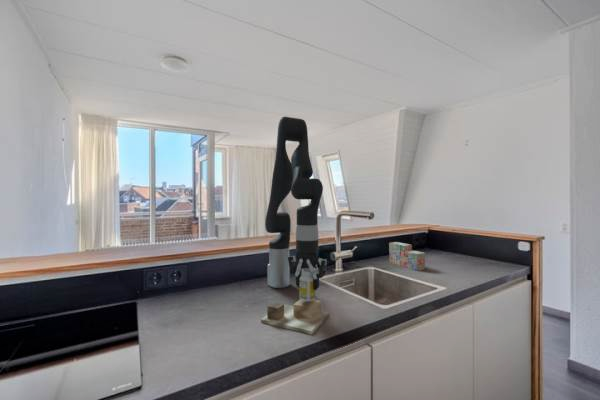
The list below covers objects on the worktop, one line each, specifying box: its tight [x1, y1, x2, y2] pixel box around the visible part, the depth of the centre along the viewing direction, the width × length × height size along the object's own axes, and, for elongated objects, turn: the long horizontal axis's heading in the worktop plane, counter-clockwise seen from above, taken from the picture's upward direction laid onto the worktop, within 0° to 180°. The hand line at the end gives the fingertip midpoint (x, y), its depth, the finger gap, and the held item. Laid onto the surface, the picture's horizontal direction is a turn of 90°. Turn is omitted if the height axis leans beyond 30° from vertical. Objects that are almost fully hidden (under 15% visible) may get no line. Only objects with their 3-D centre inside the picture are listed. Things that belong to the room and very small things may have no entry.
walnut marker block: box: [266, 301, 285, 321], centre depth 92 cm, size 4×4×4 cm
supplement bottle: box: [298, 268, 316, 301], centre depth 94 cm, size 5×5×10 cm
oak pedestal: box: [292, 298, 322, 320], centre depth 94 cm, size 7×7×4 cm
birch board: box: [260, 303, 330, 335], centre depth 92 cm, size 18×14×1 cm
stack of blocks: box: [388, 241, 426, 272], centre depth 161 cm, size 21×6×12 cm, turn 24°
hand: (307, 288), depth 94 cm, fingers closed on supplement bottle, 5 cm apart
